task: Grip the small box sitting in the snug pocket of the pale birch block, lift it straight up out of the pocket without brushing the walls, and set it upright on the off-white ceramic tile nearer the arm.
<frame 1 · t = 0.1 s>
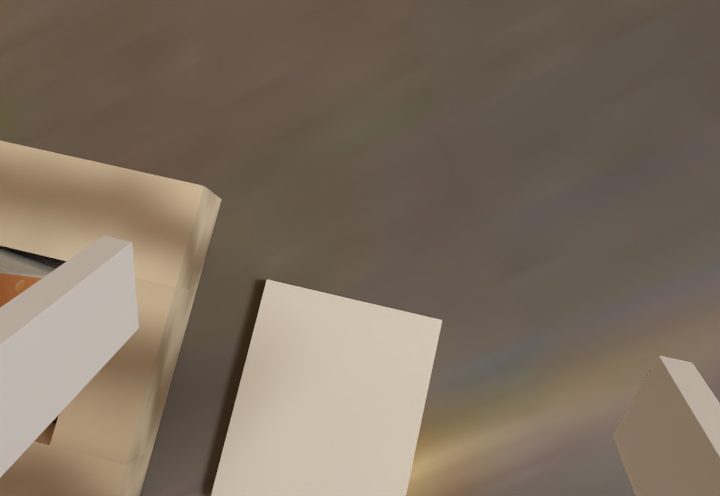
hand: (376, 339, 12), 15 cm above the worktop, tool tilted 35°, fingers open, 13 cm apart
pocket block: (26, 331, 28), on the worktop
small box: (29, 331, 28), resting in pocket block
ceramic tile: (329, 405, 27), on the worktop
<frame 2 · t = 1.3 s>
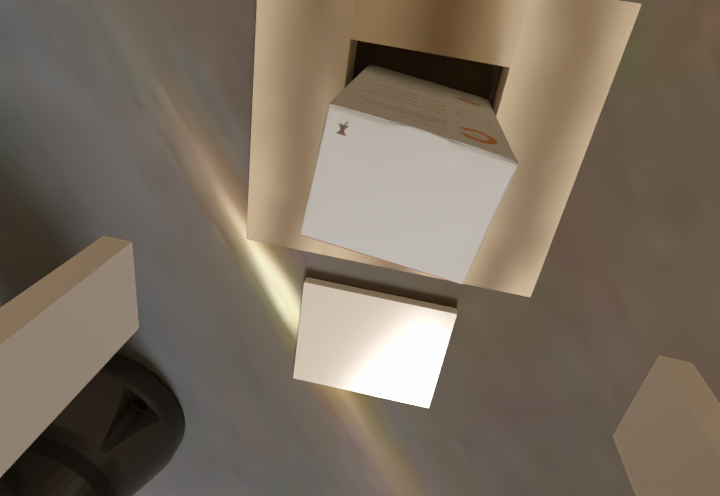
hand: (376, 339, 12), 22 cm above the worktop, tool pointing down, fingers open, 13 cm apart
pocket block: (414, 129, 32), on the worktop
small box: (414, 128, 32), resting in pocket block
ceramic tile: (370, 342, 41), on the worktop
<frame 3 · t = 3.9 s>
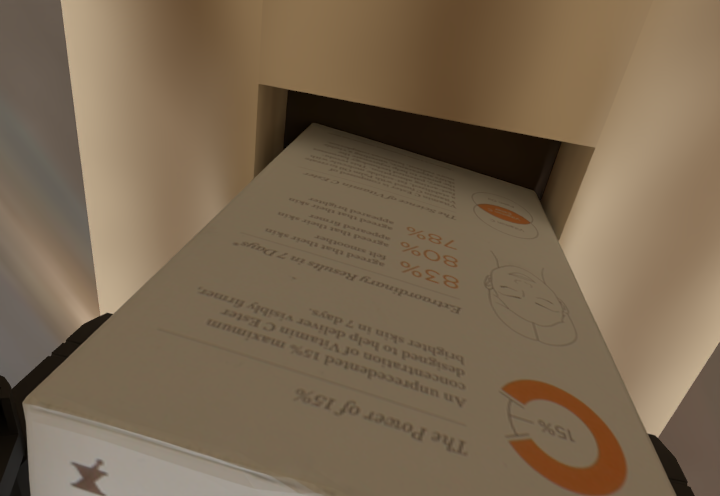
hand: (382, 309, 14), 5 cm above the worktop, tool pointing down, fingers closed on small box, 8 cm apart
pocket block: (397, 233, 18), on the worktop
small box: (397, 232, 18), resting in pocket block, touching gripper
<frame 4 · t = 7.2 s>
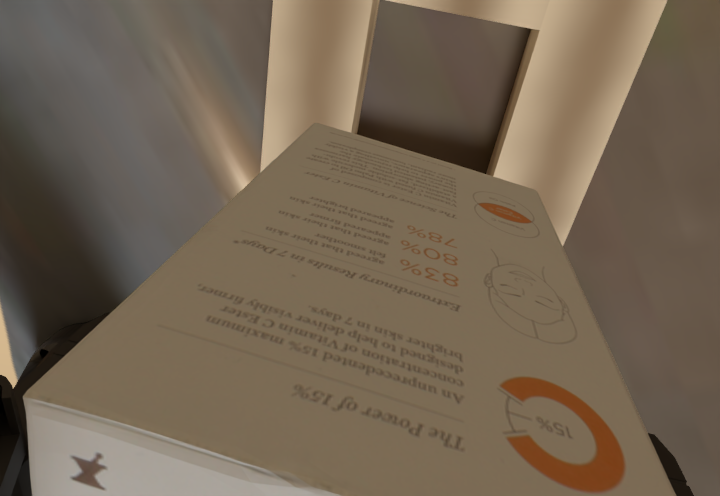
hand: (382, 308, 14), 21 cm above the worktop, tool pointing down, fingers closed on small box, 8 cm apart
pocket block: (434, 98, 31), on the worktop
small box: (399, 231, 18), point 16 cm above the worktop, touching gripper
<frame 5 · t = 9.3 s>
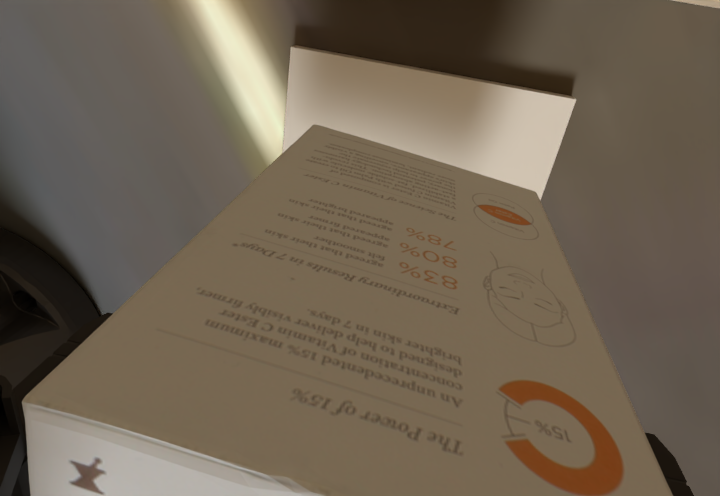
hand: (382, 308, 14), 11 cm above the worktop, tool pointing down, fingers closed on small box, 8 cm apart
small box: (399, 233, 18), point 6 cm above the worktop, touching gripper
ceramic tile: (408, 179, 23), on the worktop
when the fingers open (7 cm above the worktop, at t = 10.9 s): small box drops 1 cm, resting on ceramic tile.
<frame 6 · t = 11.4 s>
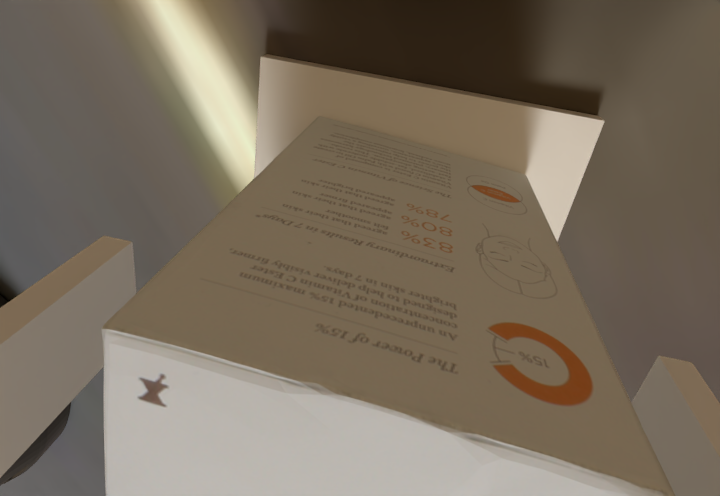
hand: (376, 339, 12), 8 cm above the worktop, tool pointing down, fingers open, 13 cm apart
small box: (399, 217, 19), point 1 cm above the worktop, touching ceramic tile
ceramic tile: (402, 210, 20), on the worktop
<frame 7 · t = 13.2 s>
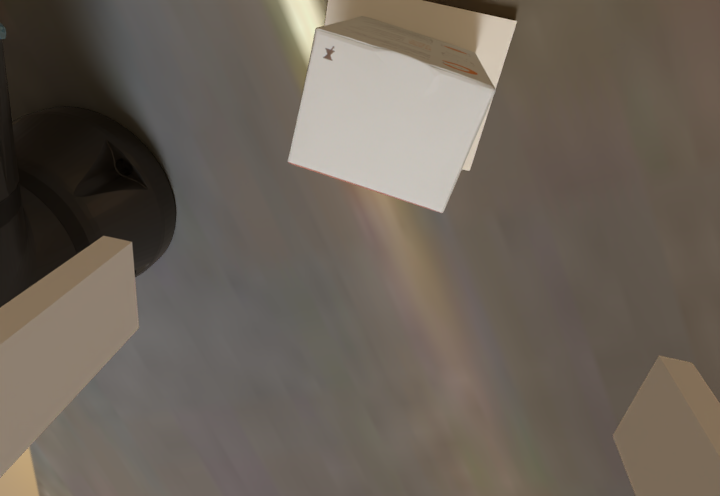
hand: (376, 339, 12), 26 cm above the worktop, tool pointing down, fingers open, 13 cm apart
small box: (404, 81, 33), point 1 cm above the worktop, touching ceramic tile
ceramic tile: (405, 79, 34), on the worktop
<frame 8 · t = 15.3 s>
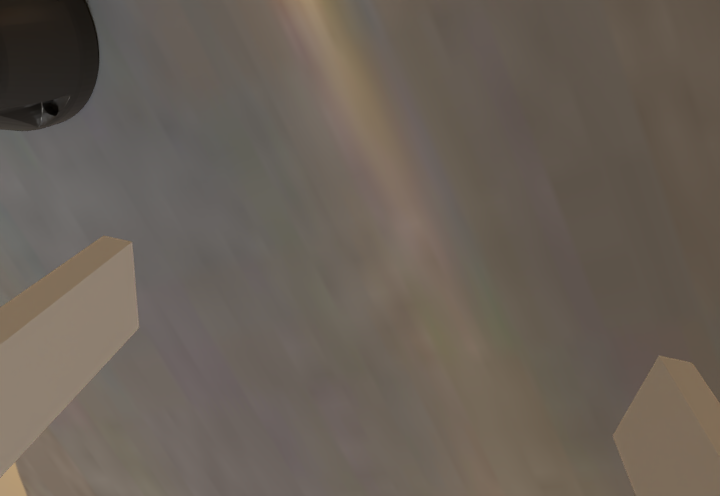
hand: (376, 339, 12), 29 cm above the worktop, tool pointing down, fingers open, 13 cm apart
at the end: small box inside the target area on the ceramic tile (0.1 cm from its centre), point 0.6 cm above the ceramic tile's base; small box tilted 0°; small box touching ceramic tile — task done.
